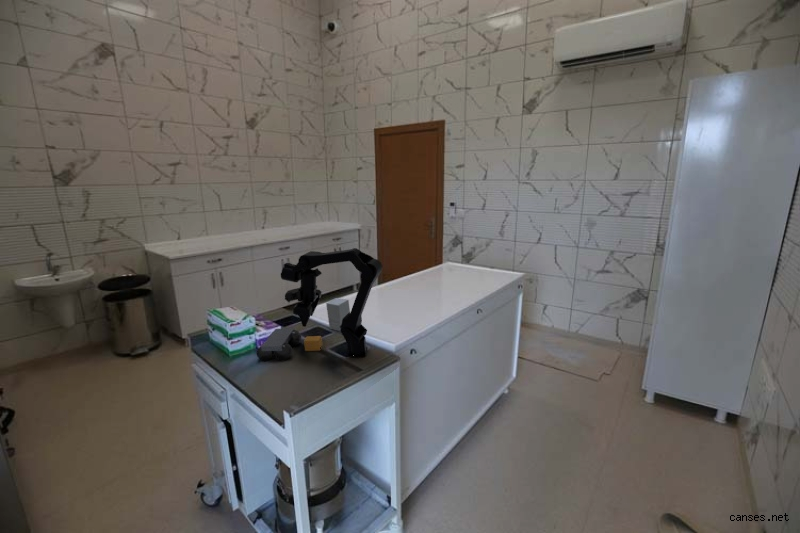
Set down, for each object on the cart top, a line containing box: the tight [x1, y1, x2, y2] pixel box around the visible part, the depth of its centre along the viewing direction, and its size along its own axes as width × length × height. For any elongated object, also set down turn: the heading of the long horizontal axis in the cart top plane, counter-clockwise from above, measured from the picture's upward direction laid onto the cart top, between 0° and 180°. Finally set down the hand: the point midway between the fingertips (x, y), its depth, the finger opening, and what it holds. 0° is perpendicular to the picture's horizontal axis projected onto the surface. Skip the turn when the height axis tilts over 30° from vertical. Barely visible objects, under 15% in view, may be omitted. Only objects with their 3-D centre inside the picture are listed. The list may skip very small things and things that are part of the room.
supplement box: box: [326, 297, 351, 332], centre depth 164 cm, size 7×7×13 cm
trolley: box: [256, 327, 302, 362], centre depth 146 cm, size 13×15×6 cm
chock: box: [303, 335, 323, 352], centre depth 148 cm, size 6×4×4 cm, turn 87°
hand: (307, 320), depth 145 cm, fingers open, 9 cm apart
